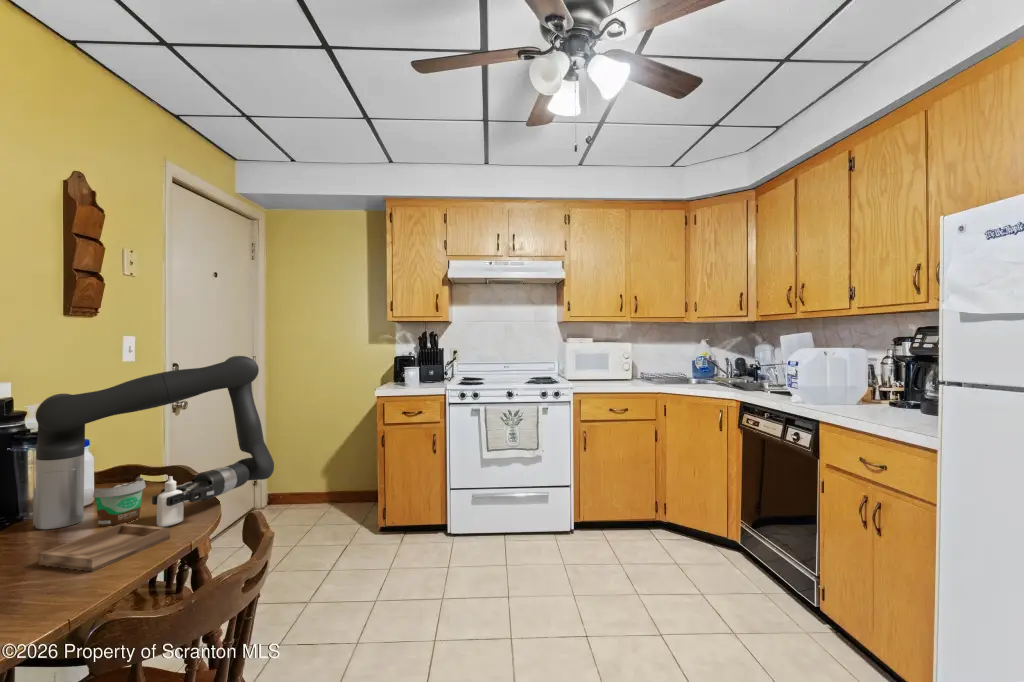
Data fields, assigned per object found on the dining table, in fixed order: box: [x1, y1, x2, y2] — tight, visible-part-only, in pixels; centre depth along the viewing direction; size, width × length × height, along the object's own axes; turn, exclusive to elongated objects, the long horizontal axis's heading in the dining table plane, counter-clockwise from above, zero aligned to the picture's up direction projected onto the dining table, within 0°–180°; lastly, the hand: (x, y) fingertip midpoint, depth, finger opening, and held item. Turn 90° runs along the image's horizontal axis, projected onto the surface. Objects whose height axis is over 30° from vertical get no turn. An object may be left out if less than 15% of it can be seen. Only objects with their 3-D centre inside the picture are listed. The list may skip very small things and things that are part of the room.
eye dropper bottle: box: [156, 475, 185, 528], centre depth 128 cm, size 4×6×12 cm
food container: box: [92, 476, 147, 528], centre depth 131 cm, size 12×6×10 cm, turn 168°
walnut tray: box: [38, 523, 171, 573], centre depth 112 cm, size 14×18×2 cm
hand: (160, 501), depth 125 cm, fingers closed on eye dropper bottle, 3 cm apart
